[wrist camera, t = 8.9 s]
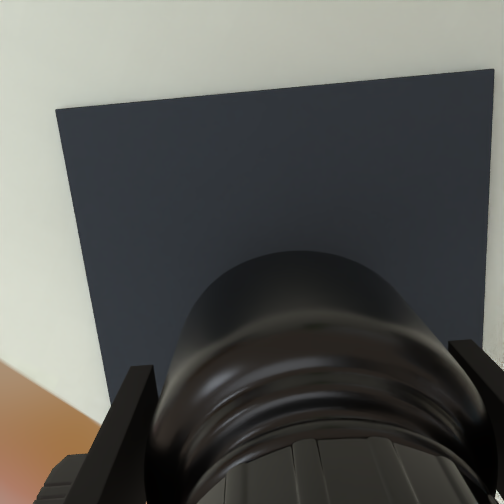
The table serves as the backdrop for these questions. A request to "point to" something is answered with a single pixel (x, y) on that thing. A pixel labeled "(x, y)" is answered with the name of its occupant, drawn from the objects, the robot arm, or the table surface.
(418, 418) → the ink bottle
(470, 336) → the mat
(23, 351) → the table surface
